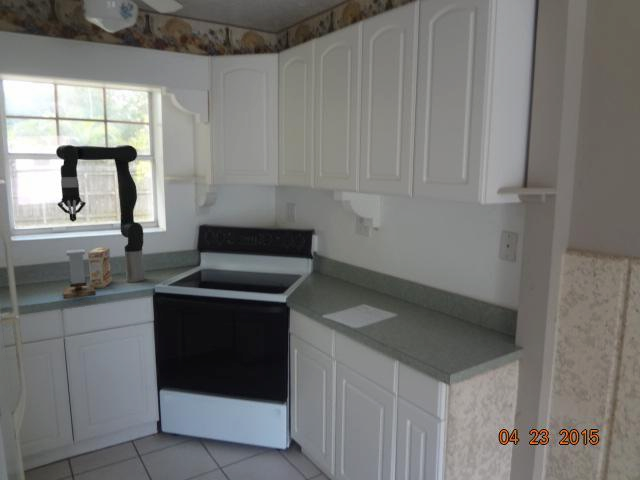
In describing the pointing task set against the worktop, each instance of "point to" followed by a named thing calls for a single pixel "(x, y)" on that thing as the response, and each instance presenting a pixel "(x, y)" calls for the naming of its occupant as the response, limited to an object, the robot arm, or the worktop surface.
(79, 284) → the thin charcoal panel
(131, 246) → the robot arm
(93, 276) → the coffeecake box
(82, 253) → the plastic sleeve
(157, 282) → the worktop surface
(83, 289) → the walnut board
